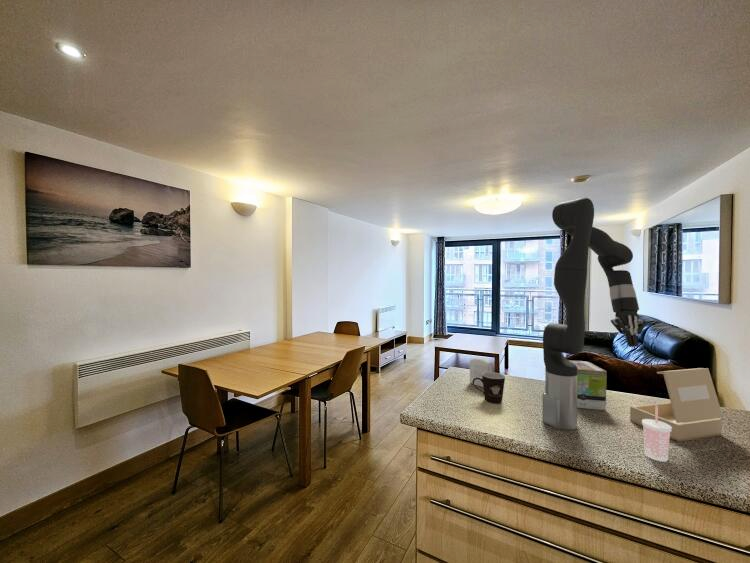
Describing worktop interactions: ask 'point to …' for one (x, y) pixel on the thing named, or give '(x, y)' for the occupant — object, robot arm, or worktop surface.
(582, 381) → the tea box
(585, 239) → the robot arm
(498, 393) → the coffee mug
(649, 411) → the mailer box
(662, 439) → the beverage cup
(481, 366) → the photo printer
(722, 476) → the worktop surface
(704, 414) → the lid
